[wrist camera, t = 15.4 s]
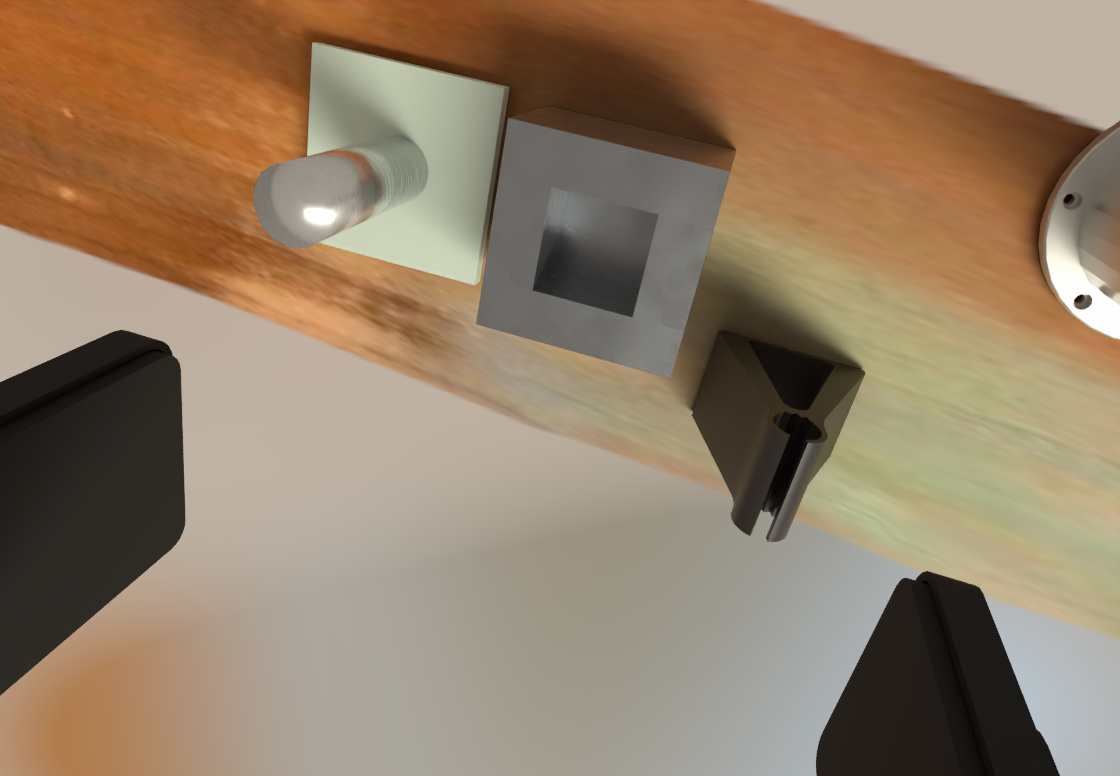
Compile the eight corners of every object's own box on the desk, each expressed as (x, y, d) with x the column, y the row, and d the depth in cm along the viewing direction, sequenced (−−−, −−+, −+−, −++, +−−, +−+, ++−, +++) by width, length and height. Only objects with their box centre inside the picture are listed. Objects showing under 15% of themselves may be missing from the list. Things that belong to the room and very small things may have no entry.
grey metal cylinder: (432, 143, 46) (332, 174, 36) (424, 208, 48) (327, 257, 37) (370, 128, 47) (253, 154, 36) (365, 193, 49) (252, 236, 38)
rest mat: (509, 86, 45) (504, 88, 44) (479, 281, 50) (474, 285, 49) (320, 42, 46) (312, 42, 46) (311, 235, 52) (303, 238, 51)
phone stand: (865, 370, 47) (894, 468, 36) (829, 453, 49) (846, 567, 39) (719, 328, 48) (706, 411, 37) (692, 411, 50) (672, 511, 40)
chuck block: (736, 149, 43) (730, 171, 36) (684, 328, 48) (670, 378, 41) (549, 105, 45) (508, 117, 38) (517, 283, 50) (476, 324, 43)
